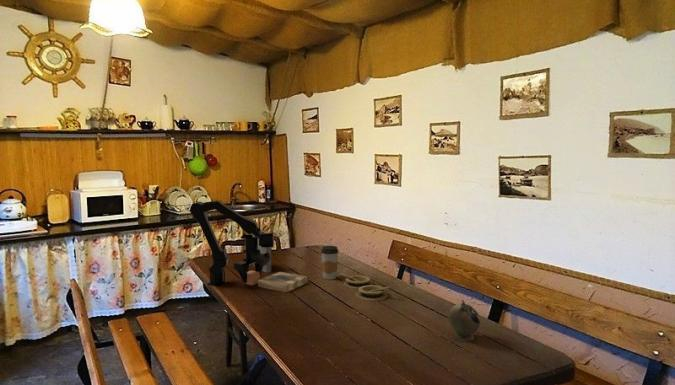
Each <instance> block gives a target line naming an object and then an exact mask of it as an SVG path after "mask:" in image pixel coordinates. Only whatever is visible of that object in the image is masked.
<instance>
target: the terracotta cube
mask: <svg viewBox="0 0 675 385" xmlns="http://www.w3.org/2000/svg"><path fill="white" fill-rule="evenodd" d="M259 279H261V275H260V272H257V271H256V270H249V271H248V272H247V283H244V282H243V283H244V284H246V285H249V286H254V285H256V284H257V285H258V280H259Z"/></svg>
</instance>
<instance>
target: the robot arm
mask: <svg viewBox="0 0 675 385" xmlns="http://www.w3.org/2000/svg"><path fill="white" fill-rule="evenodd" d="M214 210H215V211H217V212H218V213H220V214H222V215H224V217H227V219H229V220H230V221H233V222H234V223H236V224H237V225H238V226H239V227H240V228H241V229H242V230H243V231H244V233H243V234H242V235H241V236H240V240H241V239H243V240H244V245H245V246H244V249H243V251H242V252H243V253H244V256H245V258H243V261H241V260H240V261H237V262H234V264H233V270H235V271H237V273H238V274H239V276H240V278H241V279H242V282H243V283H247V272H249V271H250V266H252V265H253V266H254V265H255V267H254V269H255V270H254V271H257V272H260V276H261V274H262V272H263V271H262V269H263V267H264V266H265V265H267V262H269V260H270V254H269V253H265V254H261V253H260V249H258V238H259V245H260V246H261V247H271V248H275V238H274V232H264V233H262V231H263V230H261V229H260V228H259V223H258V222H257V220H254V219H252V218H250V217H247V216H244V215H242V214H240V213H239V212H237V211H236V210H235V209H233V208H231V207H229V206H228V205H226V204H225V203H223V202H222V201H221V200H219V199H215V200H212V201H205V202H202V201H196V202H194V203H192V204H191V205H190V207H189V212H190V214H191V215H192V217H193V218H194V219H195V221H196V222H197V224H199V226H200V228H201V231H202V233H203V235H204V237H205V240H206V242H207V244H208V247H209V248H210V251H211V258H212V262H213V263H211V265H210V266H209V268H208V270H209V281H208V282H207V285H211V286H216V287H219V286H222V285H224V284H227V283H228V281H227V280H226V272H225V269H224V268H225V267H227V265H228V263H229V257H230V255H229V253H228V251H227V249H226V248H224V249H223V247H221V246H220V243H219V241H218V239H217V238H218V237H216V234H215V232H214V230H213V227H212V226H211V223H210V221H209V218H208V217H209V216H208V212H211V211H214Z"/></svg>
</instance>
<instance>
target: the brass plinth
mask: <svg viewBox="0 0 675 385" xmlns="http://www.w3.org/2000/svg"><path fill="white" fill-rule="evenodd" d="M307 283H308V276H306V275H300V274H295V273H294V274H293V273H288V272H283V271H278V272H275V273H273V274H270V275H267V276H265V277H262V278H260V279H259V280H258V283H257V287H258V288H264V289H267V290H268V289H269V290H274V291H278V292H284V293H288V292H290V291H293V290H295V289H297V288H298V287H301V286H304V285H306V284H307Z"/></svg>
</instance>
